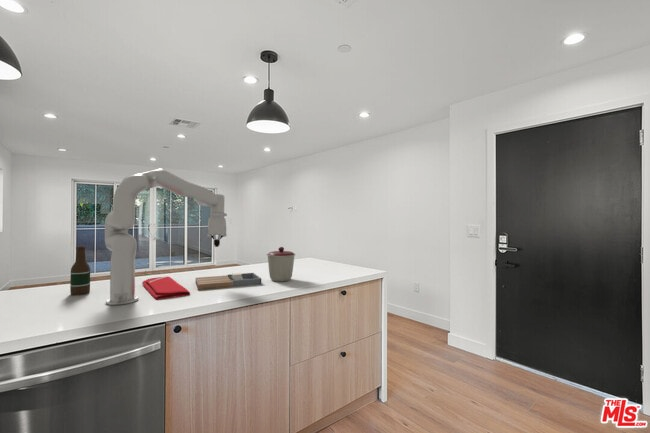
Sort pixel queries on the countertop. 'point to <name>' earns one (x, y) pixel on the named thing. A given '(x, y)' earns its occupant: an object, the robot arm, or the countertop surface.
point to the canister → (280, 265)
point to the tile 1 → (236, 276)
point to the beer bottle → (80, 274)
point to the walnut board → (213, 282)
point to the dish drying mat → (164, 288)
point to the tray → (246, 280)
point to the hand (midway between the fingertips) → (216, 246)
